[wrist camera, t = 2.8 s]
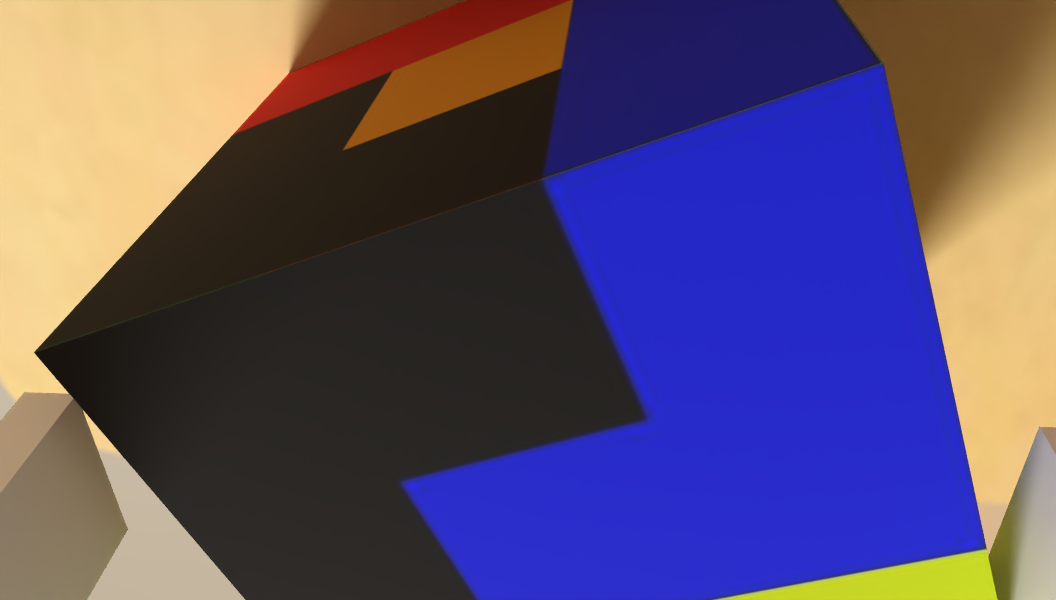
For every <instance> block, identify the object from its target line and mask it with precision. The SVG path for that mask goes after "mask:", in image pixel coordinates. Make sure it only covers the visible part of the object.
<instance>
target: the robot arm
mask: <svg viewBox="0 0 1056 600" xmlns="http://www.w3.org/2000/svg"><path fill="white" fill-rule="evenodd" d="M127 530H128V529H127V526H126V524H125V521H124V519H123V516H122V513H121V511H120V508H119V505H118V503H117V500H116V497H115V495H114V492H113V489H112V487H111V484H110V482H109V479H108V476H107V474H106V471H105V468H104V466H103V463H102V460H101V458H100V455H99V452H98V450H97V447H96V445H95V442H94V439H93V437H92V434H91V431H90V429H89V426H88V424H87V421H86V418H85V416H84V413H83V410H82V408H81V407H80V406H79V404H78V403H77V402H76V401H75V400H74V399H73V397H72V396H71V395H70V394H55V393H26V392H24V394H23V395H22V396H21V397H20V398H19V399H18V401H17V402H16V403H15V404H14V405H13V407H12V408H11V409H10V410H9V411H8V412H7V414H6V415H5V416H4V418H2V420H1V421H0V600H87V599H88V597H89V595H90V594H91V592H92V590H93V588H94V587H95V585H96V583H97V582H98V579H99V578H100V576H101V575H102V573H103V571H104V569H105V568H106V566H107V564H108V562H109V561H110V559H111V557H112V556H113V554H114V552H115V550H116V548H117V547H118V545H119V544H120V542H121V540H122V538H123V537H124V535H125V533H126V531H127ZM988 558H989V562H990V567H991V572H992V577H993V581H994V586H995V591H996V595H997V599H998V600H1056V428H1054V427H1039V429H1038V432H1037V434H1036V437H1035V439H1034V442H1033V444H1032V447H1031V449H1030V452H1029V455H1028V457H1027V460H1026V462H1025V465H1024V467H1023V470H1022V472H1021V475H1020V477H1019V480H1018V483H1017V485H1016V488H1015V490H1014V493H1013V495H1012V498H1011V500H1010V503H1009V505H1008V508H1007V510H1006V513H1005V516H1004V518H1003V521H1002V523H1001V526H1000V528H999V531H998V533H997V536H996V538H995V541H994V543H993V546H992V549H991V551H990V554H989V556H988Z"/></svg>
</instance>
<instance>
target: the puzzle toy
mask: <svg viewBox="0 0 1056 600" xmlns="http://www.w3.org/2000/svg"><path fill="white" fill-rule="evenodd" d="M34 353H35V354H36V355H37V357H38V358H39V359H40V360H41V361H42V362H43V364H44V365H45V366H46V367H47V368H48V369H49V371H50V372H51V373H52V374H53V375H54V376H55V378H56V379H57V380H58V381H59V382H60V383H61V385H62V386H63V387H64V388H65V389H66V390H67V392H68V393H69V394H70V395H71V396H72V397H73V399H74V400H75V401H76V402H77V403H78V404H79V406H80V407H81V408H82V409H83V410H84V411H85V413H86V414H87V415H88V416H89V417H90V418H91V420H92V421H93V422H94V423H95V424H96V425H97V427H98V428H99V429H100V430H101V431H102V433H103V434H104V435H105V436H106V437H107V438H108V440H109V441H110V442H111V443H112V444H113V445H114V447H115V448H116V449H117V450H118V451H119V452H120V454H121V455H122V456H123V457H124V458H125V459H126V461H127V462H128V463H129V464H130V465H131V466H132V468H133V469H134V470H135V471H136V472H137V473H138V475H139V476H140V477H141V478H142V479H143V480H144V482H145V483H146V484H147V485H148V486H149V487H150V488H151V490H152V491H153V492H154V493H155V494H156V496H157V497H158V498H159V499H160V500H161V501H162V503H163V504H164V505H165V506H166V507H167V508H168V510H169V511H170V512H171V513H172V514H173V515H174V517H175V518H176V519H177V520H178V521H179V522H180V524H181V525H182V526H183V527H184V528H185V529H186V531H187V532H188V533H189V534H190V535H191V536H192V538H193V539H194V540H195V541H196V542H197V544H198V545H199V546H200V547H201V548H202V549H203V551H205V553H206V554H207V555H208V556H209V557H210V559H211V560H212V561H213V562H214V563H215V565H216V566H217V567H218V568H219V569H220V570H221V572H222V573H223V574H224V575H225V576H226V577H227V578H228V580H229V581H230V582H231V583H232V584H233V586H234V587H235V588H236V589H237V590H238V591H239V593H240V594H241V595H242V596H243V597H244V599H245V600H997V595H996V591H995V586H994V581H993V577H992V572H991V567H990V562H989V558H988V553H987V548H986V544H985V539H984V534H983V530H982V525H981V520H980V516H979V511H978V506H977V501H976V497H975V492H974V487H973V482H972V478H971V473H970V468H969V464H968V459H967V454H966V449H965V445H964V440H963V435H962V431H961V426H960V421H959V417H958V412H957V407H956V402H955V398H954V393H953V388H952V384H951V379H950V374H949V369H948V365H947V360H946V355H945V351H944V346H943V341H942V337H941V332H940V327H939V322H938V318H937V313H936V308H935V304H934V299H933V294H932V289H931V285H930V280H929V275H928V271H927V266H926V261H925V257H924V252H923V247H922V242H921V238H920V233H919V228H918V224H917V219H916V214H915V209H914V205H913V200H912V195H911V191H910V186H909V181H908V177H907V172H906V167H905V162H904V158H903V153H902V148H901V144H900V139H899V134H898V129H897V125H896V120H895V115H894V111H893V106H892V101H891V97H890V92H889V87H888V82H887V78H886V73H885V68H884V64H883V62H882V60H881V59H880V58H879V56H878V55H877V54H876V52H875V51H874V49H873V48H872V47H871V45H870V44H869V42H868V41H867V40H866V38H865V37H864V36H863V34H862V33H861V31H860V30H859V29H858V27H857V26H856V25H855V23H854V22H853V20H852V19H851V18H850V16H849V15H848V13H847V12H846V11H845V9H844V8H843V7H842V5H841V4H840V2H839V1H838V0H466V1H463V2H461V3H459V4H456V5H454V6H451V7H449V8H446V9H444V10H442V11H439V12H437V13H434V14H432V15H430V16H427V17H425V18H422V19H420V20H417V21H415V22H413V23H410V24H408V25H405V26H403V27H400V28H398V29H396V30H393V31H391V32H388V33H386V34H383V35H381V36H379V37H376V38H374V39H371V40H369V41H367V42H364V43H362V44H359V45H357V46H354V47H352V48H350V49H347V50H345V51H342V52H340V53H337V54H335V55H333V56H330V57H328V58H325V59H323V60H320V61H318V62H316V63H313V64H311V65H308V66H306V67H303V68H301V69H299V70H296V71H294V72H291V73H289V74H288V75H287V76H286V77H285V78H284V79H283V80H282V82H281V83H280V84H279V85H278V86H277V87H276V88H275V89H274V90H273V91H272V93H271V94H270V95H269V96H268V97H267V98H266V99H265V100H264V101H263V102H262V103H261V105H260V106H259V107H258V108H257V109H256V110H255V111H254V112H253V113H252V114H251V116H250V117H249V118H248V119H247V120H246V121H245V122H244V123H243V124H242V125H241V126H240V128H239V129H238V130H237V131H236V132H235V133H234V134H233V135H232V136H231V137H230V139H229V140H228V141H227V142H226V143H225V144H224V145H223V146H222V147H221V148H220V149H219V151H218V152H217V153H216V154H215V155H214V156H213V157H212V158H211V159H210V160H209V161H208V163H207V164H206V165H205V166H204V167H203V168H202V169H201V170H200V171H199V172H198V174H197V175H196V176H195V177H194V178H193V179H192V180H191V181H190V182H189V183H188V184H187V186H186V187H185V188H184V189H183V190H182V191H181V192H180V193H179V194H178V195H177V197H176V198H175V199H174V200H173V201H172V202H171V203H170V204H169V205H168V206H167V207H166V209H165V210H164V211H163V212H162V213H161V214H160V215H159V216H158V217H157V218H156V220H155V221H154V222H153V223H152V224H151V225H150V226H149V227H148V228H147V229H146V230H145V232H144V233H143V234H142V235H141V236H140V237H139V238H138V239H137V240H136V241H135V242H134V244H133V245H132V246H131V247H130V248H129V249H128V250H127V251H126V252H125V253H124V255H123V256H122V257H121V258H120V259H119V260H118V261H117V262H116V263H115V264H114V265H113V267H112V268H111V269H110V270H109V271H108V272H107V273H106V274H105V275H104V276H103V278H102V279H101V280H100V281H99V282H98V283H97V284H96V285H95V286H94V287H93V288H92V290H91V291H90V292H89V293H88V294H87V295H86V296H85V297H84V298H83V299H82V301H81V302H80V303H79V304H78V305H77V306H76V307H75V308H74V309H73V310H72V311H71V313H70V314H69V315H68V316H67V317H66V318H65V319H64V320H63V321H62V322H61V324H60V325H59V326H58V327H57V328H56V329H55V330H54V331H53V332H52V333H51V334H50V336H49V337H48V338H47V339H46V340H45V341H44V342H43V343H42V344H41V345H40V346H39V348H38V349H37V350H36V351H35V352H34Z"/></svg>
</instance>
